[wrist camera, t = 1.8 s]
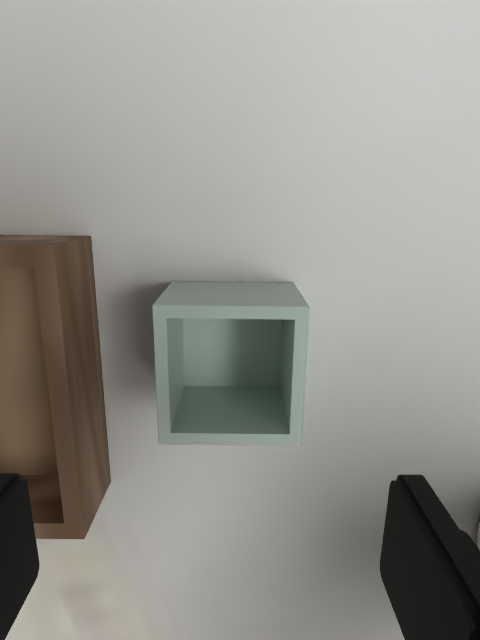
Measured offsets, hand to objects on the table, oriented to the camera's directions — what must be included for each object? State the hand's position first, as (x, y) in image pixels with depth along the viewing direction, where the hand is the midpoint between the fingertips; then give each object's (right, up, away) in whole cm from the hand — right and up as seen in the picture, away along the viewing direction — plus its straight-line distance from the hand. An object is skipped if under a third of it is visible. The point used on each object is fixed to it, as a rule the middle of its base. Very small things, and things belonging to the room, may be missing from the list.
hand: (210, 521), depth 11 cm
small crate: (0, +4, +15) cm, 15 cm away
